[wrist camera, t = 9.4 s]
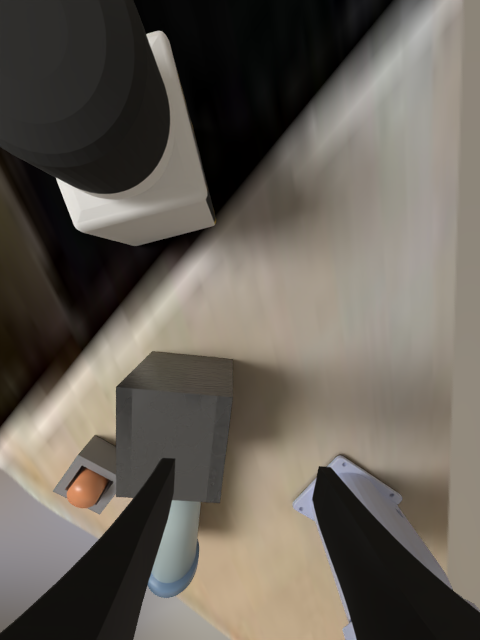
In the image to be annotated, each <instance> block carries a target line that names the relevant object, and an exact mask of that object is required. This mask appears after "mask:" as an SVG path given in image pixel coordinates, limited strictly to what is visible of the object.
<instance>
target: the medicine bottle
mask: <svg viewBox="0 0 480 640" xmlns="http://www.w3.org/2000/svg"><path fill="white" fill-rule="evenodd" d="M0 147H1V148H3V149H5V150H6V151H8V152H9V153H11V154H13V155H15V156H17V157H18V158H20V159H22V160H24V161H26V162H28V163H30V164H31V165H33V166H35V167H37V168H39V169H41V170H43V171H45V172H46V173H48V174H50V175H52V176H54V177H56V180H57V182H58V185H59V187H60V190H61V193H62V195H63V198H64V200H65V203H66V205H67V208H68V211H69V213H70V216H71V218H72V221H73V224H74V226H75V227H76V229H78V230H79V231H81V232H84V233H88V234H91V235H95V236H99V237H103V238H106V239H110V240H114V241H118V242H122V243H125V244H129V245H133V246H138V245H142V244H146V243H150V242H154V241H158V240H162V239H165V238H169V237H173V236H177V235H181V234H185V233H189V232H192V231H196V230H200V229H204V228H208V227H212V226H214V225H215V224H216V217H215V213H214V209H213V205H212V201H211V197H210V193H209V189H208V185H207V181H206V177H205V173H204V169H203V166H202V162H201V158H200V154H199V150H198V146H197V142H196V138H195V134H194V130H193V126H192V123H191V119H190V115H189V112H188V108H187V104H186V101H185V97H184V94H183V90H182V86H181V83H180V79H179V75H178V72H177V68H176V65H175V61H174V57H173V54H172V50H171V46H170V43H169V40H168V38H167V36H166V35H165V33H163V32H162V31H156V32H152V33H149V34H146V33H145V30H144V27H143V25H142V22H141V19H140V16H139V14H138V11H137V9H136V6H135V4H134V1H133V0H0Z"/></svg>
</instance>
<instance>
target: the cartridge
mask: <svg viewBox="0 0 480 640" xmlns="http://www.w3.org/2000/svg"><path fill="white" fill-rule="evenodd" d="M200 507H201V502H194V501H178V500H172V503H171V508H170V512H169V517H168V520H167V524H166V527H165V530H164V533H163V537H162V540H161V543H160V546H159V550H158V553H157V556H156V559H155V562H154V565H153V569H152V572H151V575H150V578H149V581H148V587H149V589H150V590H151V591H152V592H153V593H154V594H155V595H157V596H159V597H163V598H169V597H173V596H176V595H178V594H179V593H181V592H182V591H183V590H184V589H185V588H186V587H187V586H188V585H189V584H190V582H191V581H192V579H193V577H194V575H195V572H196V569H197V565H198V557H199V542H198V539H197V537H198V527H199V517H200Z"/></svg>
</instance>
